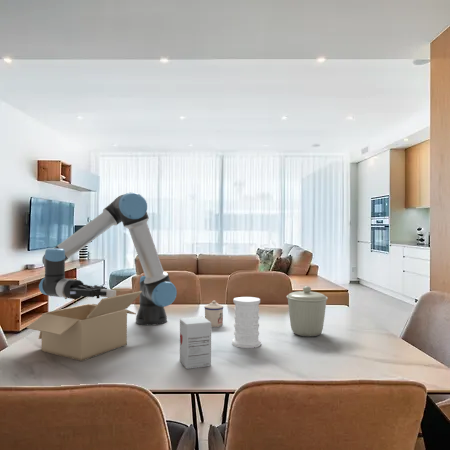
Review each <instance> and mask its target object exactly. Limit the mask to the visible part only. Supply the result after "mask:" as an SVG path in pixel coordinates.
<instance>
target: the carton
mask: <svg viewBox="0 0 450 450" xmlns="http://www.w3.org/2000/svg"><path fill="white" fill-rule="evenodd" d="M97 304H98V303H97ZM97 304H96V303H84V304H81V305H80V304H79V305H76V306H70V307H65V308H61V309H56V310H52V311H48V312H47V311H46V312H44V313H41V316H40V317H38V318H37V319H36V320H34V321H33V322H31V323H30V324H29V325H28V326H26V328H27V329H30V330H34V331H38V332H39V335H38V340H41V346H40V347H41V350H40V351H41V352H44V353H48V354H51V355H57V356H60V357H64V358H67V359H71V360H76V361H79V362H83V361H86V360H88V359H91V358H95V357H97V356H99V355H103V354H106V353H108V352H111V351H113V350H116V349H118V348H122V347H124V346H127V344H128V341H127V340H128V314H130V315H136V316H137V313H136V312H134V311H131V310H129V309H128V308H127V309H123V310H119V311H115V312H111V313H107V314H103V315H99V316H95V317H91V318H87V316H88V315H89V314H90V313H91V311H92V310H93V309H94V308H95V307H96V305H97Z"/></svg>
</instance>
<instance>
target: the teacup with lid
mask: <svg viewBox="0 0 450 450" xmlns="http://www.w3.org/2000/svg"><path fill="white" fill-rule="evenodd" d="M223 312H224V305H222V304H219V303H218V302H217V300H212V301H211V302H210V303H208V304H206V305H205V306H204V318H205V319H207V320H208V321H210V322H211V328H220V327H222V326H223V324H224V323H223V317H224V313H223Z"/></svg>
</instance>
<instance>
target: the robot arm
mask: <svg viewBox="0 0 450 450" xmlns="http://www.w3.org/2000/svg"><path fill="white" fill-rule="evenodd" d="M148 221H149V215H148V203H147V200H146V198H145V197H144V196H143V195H142V194H139V193H136V192H127V193H125V194H121V195H119V196H118V197H115V199H114V200H113V201H112V202H110V203H109V204H108V205H107V206H106V207H104V208H103V210H102V212H101V213H99V215H97V216H96V217H94V218H93V219H92V220H90V221H89V222H87V223H86V224H85V225H84V226H82V227H81V228H79V229H78V230H76V231H75V232H73V234H71V235H70V236H69V237H68V238H67V237H66V239H64V240H63V241H62V242H60V243H59V244H57V246H55V247H53V248H46V249H45V251H44V252H45V253H44V254H43V256H42V264H43V266H44V277H43V278H42V279H41V280H40V282H39V284H38V289H39V292H40V293H41V294H42V295H45V296H48V297H57V298H64V300H67V299H69V300H70V299H71V300H78V299H81V297H84V298H85V297H86V298H95V297H96V299H100V297H101V298H109V297H113V296H117V290H116V289H110V288H108V287H106V286H99V285H98V284H94V285H88V284H84V282H83V281H81V280H80V279H72V278H66V273H65V271H66V268H65V267H66V261H68V260H69V259H70V258H72V256H74V255H75V254H77V253H79V252H80V250H82V249H83V248H85V247H86V246H87V245H89V244H90V243H92V242H93V241H94V240H96V239H97V238H98V237H100V236H101V235H102V234H104V233H105V232H106V231H107V230H108V229H110V228H112V226H118V225H119V224H121V223H122V225H123V227H125V228H126V229H128V232H129V235H130V237H131V239H132V243H133V245H134V249H135V252H136V254H137V257H138V260H139V263H140V265H141V268H142V271H143V274H144V275H141V276H140V278H139V291H142V292H141V294H140V295H139V308H138V311H137V313H136V316H135V323H136V324H137V325H142V326H156V325H157V326H158V325H162V324H165V323H167V322H168V315H167V312H166V310H165V307H168V306H170V305H172V303H174V301H175V300H176V298H177V294H178V293H177V292H178V290H177V288H176V286H175V284H174V283H172V281H171V279H170V276H169V273H168V272H166V271H164V268H163V266H162V263H161V260H160V257H159V254H158V252H157V247H156V246H155V243H154V240H153V235H152V234H151V232H150V228H149V225H148Z"/></svg>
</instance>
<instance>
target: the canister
mask: <svg viewBox="0 0 450 450" xmlns="http://www.w3.org/2000/svg"><path fill="white" fill-rule="evenodd" d="M286 298H287V303H288V304H287V305H288V314H289V322H290V323H289V324H290V328H291V331H292V333H294V334H295V335H297V336H300V337H318V336H320V335H321V334H322V332H323V329H324V323H325V318H326V317H325V316H326V307H327V300H328V299H329V297H328V296H326V295H325V293H324V294H323V293H321V292H317V291H312V288H311V287H310V286H309V285H307V286H306V285H305V286H303V288H302V290H299V291H292V292H290V293H288V294H287V295H286Z"/></svg>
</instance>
